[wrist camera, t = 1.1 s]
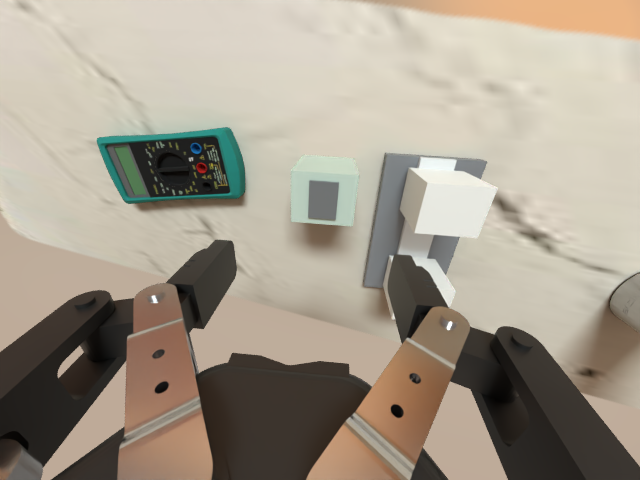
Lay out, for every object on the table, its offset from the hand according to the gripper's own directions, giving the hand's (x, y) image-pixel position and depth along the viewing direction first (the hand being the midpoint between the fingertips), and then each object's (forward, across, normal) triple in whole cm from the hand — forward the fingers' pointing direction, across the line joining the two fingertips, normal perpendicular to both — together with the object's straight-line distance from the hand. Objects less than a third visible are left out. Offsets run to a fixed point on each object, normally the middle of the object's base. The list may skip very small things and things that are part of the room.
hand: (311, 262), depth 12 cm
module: (+18, 0, 0) cm, 18 cm away
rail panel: (+18, -11, +6) cm, 21 cm away
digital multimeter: (+18, +17, 0) cm, 25 cm away
